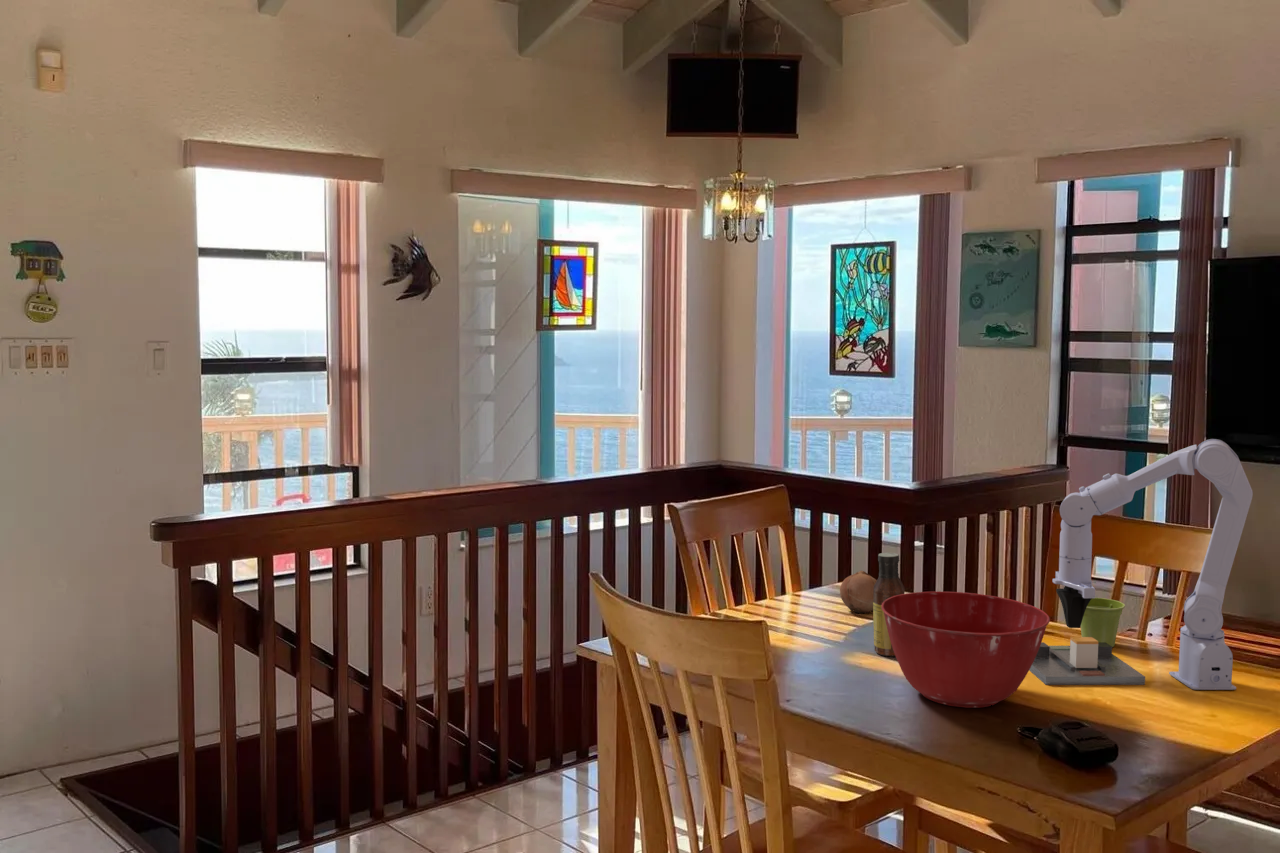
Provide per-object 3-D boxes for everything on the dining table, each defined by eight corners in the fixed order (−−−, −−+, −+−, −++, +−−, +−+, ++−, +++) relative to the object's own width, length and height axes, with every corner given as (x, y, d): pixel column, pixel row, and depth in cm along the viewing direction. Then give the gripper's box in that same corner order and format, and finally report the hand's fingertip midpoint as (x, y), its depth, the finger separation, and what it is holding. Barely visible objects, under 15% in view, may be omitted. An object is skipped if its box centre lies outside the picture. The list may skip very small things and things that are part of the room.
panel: (1144, 684, 211) (1145, 665, 211) (1045, 684, 211) (1046, 665, 211) (1100, 653, 231) (1101, 635, 231) (1009, 653, 231) (1010, 635, 231)
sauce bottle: (903, 649, 234) (906, 551, 232) (907, 658, 227) (910, 557, 226) (870, 648, 234) (872, 550, 232) (873, 657, 228) (875, 557, 226)
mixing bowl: (1061, 686, 210) (1064, 602, 209) (1026, 735, 186) (1029, 640, 184) (908, 663, 224) (910, 584, 223) (856, 705, 200) (858, 616, 199)
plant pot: (1115, 654, 231) (1117, 611, 230) (1067, 645, 237) (1068, 603, 236) (1128, 643, 238) (1130, 601, 237) (1081, 636, 244) (1083, 595, 243)
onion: (858, 620, 268) (860, 577, 271) (890, 617, 261) (892, 573, 264) (829, 610, 263) (832, 567, 266) (861, 607, 256) (864, 563, 259)
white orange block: (1097, 667, 215) (1098, 641, 215) (1075, 667, 215) (1076, 641, 215) (1090, 663, 218) (1091, 637, 218) (1069, 663, 218) (1070, 637, 218)
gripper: (1040, 549, 228) (1039, 617, 229) (1068, 564, 214) (1066, 637, 215) (1076, 549, 228) (1074, 617, 229) (1107, 564, 214) (1104, 637, 215)
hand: (1073, 627), depth 222 cm, fingers closed
